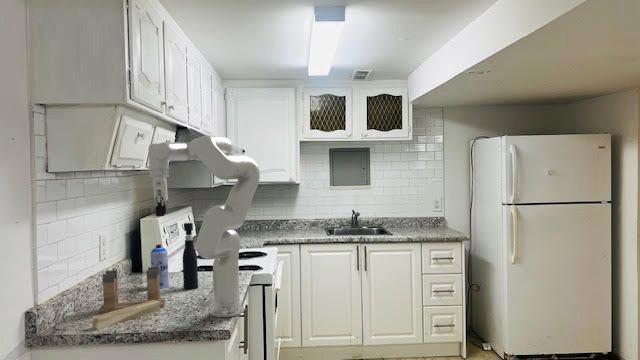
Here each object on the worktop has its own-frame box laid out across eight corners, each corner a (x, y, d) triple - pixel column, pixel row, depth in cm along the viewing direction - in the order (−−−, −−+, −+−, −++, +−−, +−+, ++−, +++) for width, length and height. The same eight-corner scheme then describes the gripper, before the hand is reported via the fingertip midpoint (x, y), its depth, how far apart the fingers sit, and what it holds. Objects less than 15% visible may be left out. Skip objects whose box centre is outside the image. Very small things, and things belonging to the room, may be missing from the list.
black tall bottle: (181, 288, 208) (178, 223, 207) (194, 285, 212) (192, 222, 211) (187, 290, 203) (184, 224, 202) (200, 288, 207) (197, 223, 206)
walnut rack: (163, 307, 179) (162, 269, 179) (98, 314, 173) (96, 275, 173) (165, 301, 187) (163, 265, 187) (102, 308, 181) (100, 271, 181)
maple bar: (160, 311, 175) (159, 301, 175) (98, 330, 156) (97, 319, 156) (154, 309, 177) (153, 299, 177) (92, 328, 159) (92, 317, 158)
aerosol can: (160, 289, 206) (158, 246, 205) (147, 288, 210) (145, 245, 209) (172, 285, 213) (171, 243, 212) (160, 284, 217) (159, 242, 216)
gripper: (167, 173, 178) (169, 216, 178) (170, 173, 195) (171, 212, 195) (147, 174, 176) (149, 217, 176) (151, 173, 193) (153, 213, 193)
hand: (161, 214), depth 186 cm, fingers open, 9 cm apart
